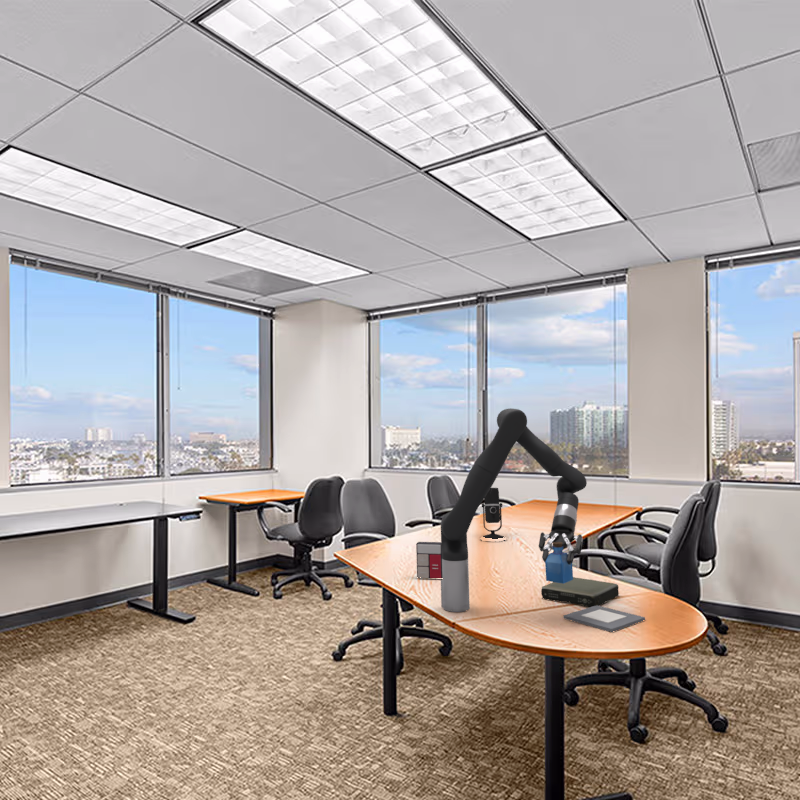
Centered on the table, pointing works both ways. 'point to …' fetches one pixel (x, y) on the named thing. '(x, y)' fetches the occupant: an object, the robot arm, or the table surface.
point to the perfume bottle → (558, 565)
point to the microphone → (492, 512)
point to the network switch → (581, 592)
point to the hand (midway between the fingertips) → (556, 562)
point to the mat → (604, 618)
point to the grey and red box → (429, 560)
